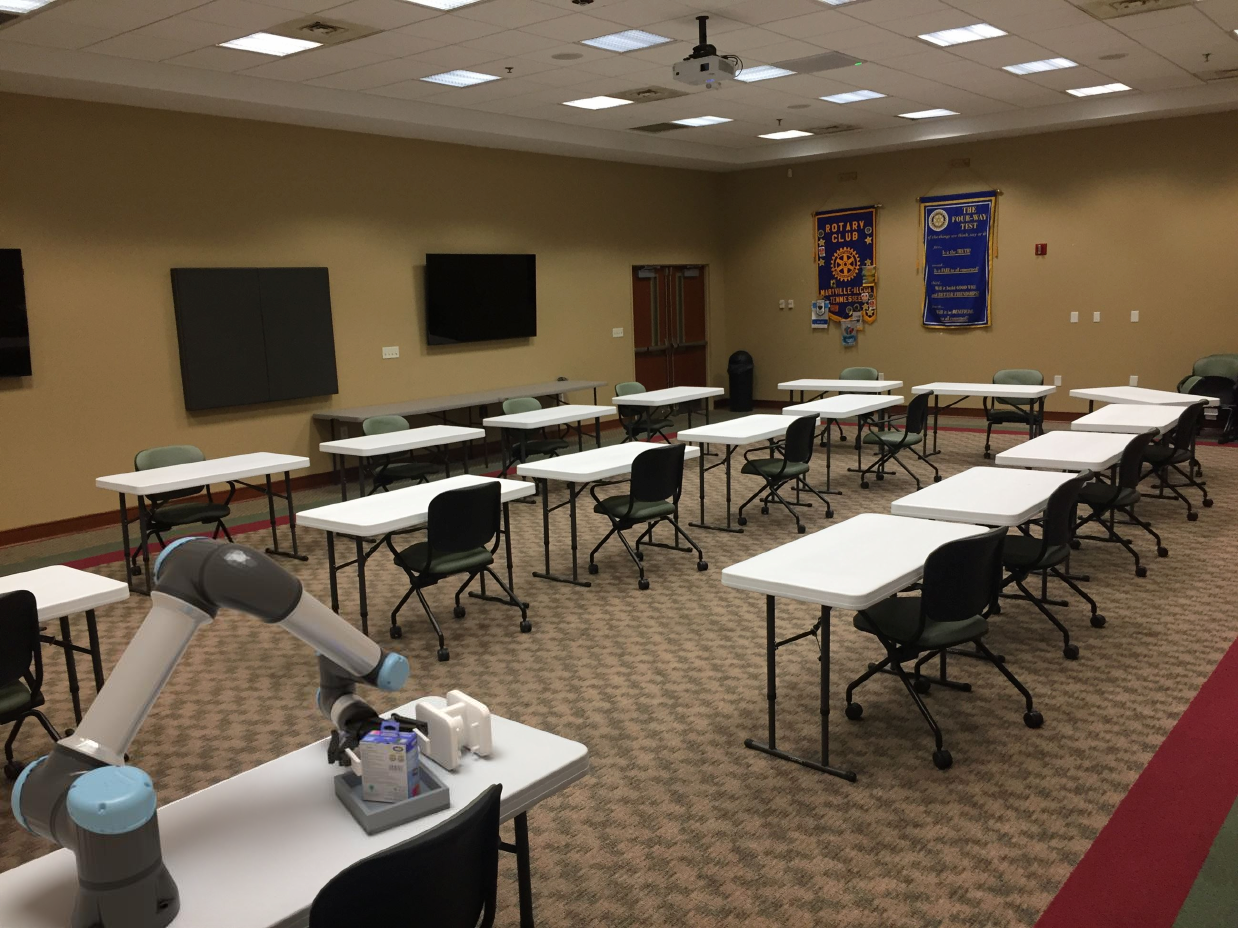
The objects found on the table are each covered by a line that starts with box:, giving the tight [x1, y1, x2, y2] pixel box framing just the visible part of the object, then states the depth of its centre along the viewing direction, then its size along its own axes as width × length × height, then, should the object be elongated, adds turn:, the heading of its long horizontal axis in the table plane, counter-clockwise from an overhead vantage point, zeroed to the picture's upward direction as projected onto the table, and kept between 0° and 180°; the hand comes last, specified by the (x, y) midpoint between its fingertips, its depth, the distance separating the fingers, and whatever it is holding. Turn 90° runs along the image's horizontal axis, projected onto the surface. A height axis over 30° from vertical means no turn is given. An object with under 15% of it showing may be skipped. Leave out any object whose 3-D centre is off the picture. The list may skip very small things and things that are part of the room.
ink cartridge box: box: [359, 721, 420, 803], centre depth 181 cm, size 10×6×14 cm, turn 78°
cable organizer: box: [415, 689, 493, 771], centre depth 199 cm, size 15×11×12 cm
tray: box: [333, 758, 451, 837], centre depth 182 cm, size 16×18×4 cm
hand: (394, 757), depth 178 cm, fingers open, 13 cm apart
